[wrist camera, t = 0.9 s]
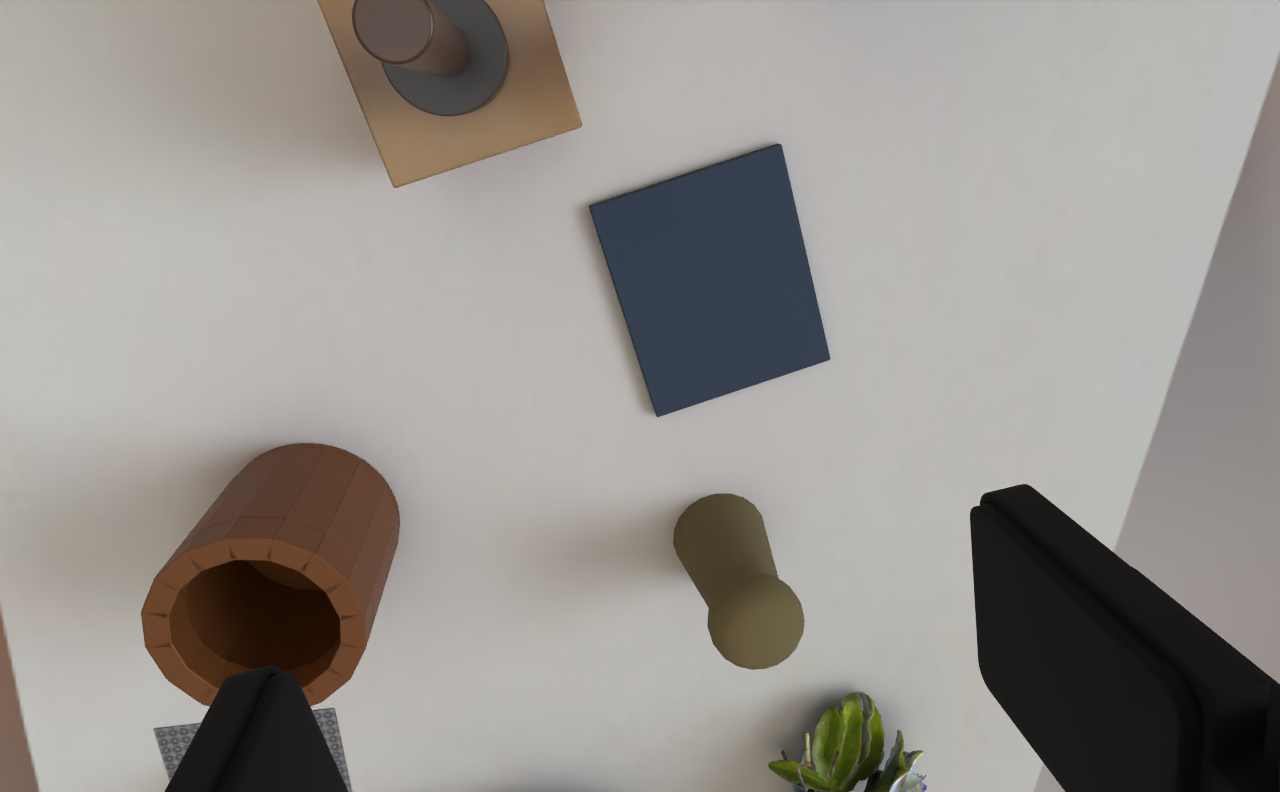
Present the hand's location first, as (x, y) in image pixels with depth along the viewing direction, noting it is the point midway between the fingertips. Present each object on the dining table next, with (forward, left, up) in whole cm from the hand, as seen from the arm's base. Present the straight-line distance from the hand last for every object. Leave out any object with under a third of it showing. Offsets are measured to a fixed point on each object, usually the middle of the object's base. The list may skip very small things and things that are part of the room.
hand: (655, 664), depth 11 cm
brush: (-10, -2, -26) cm, 27 cm away
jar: (+11, -20, -37) cm, 43 cm away
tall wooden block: (-10, -2, -37) cm, 38 cm away
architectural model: (+30, -32, -37) cm, 57 cm away
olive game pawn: (+21, +3, -37) cm, 43 cm away
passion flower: (+42, +6, -37) cm, 56 cm away
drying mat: (+5, +7, -37) cm, 38 cm away
